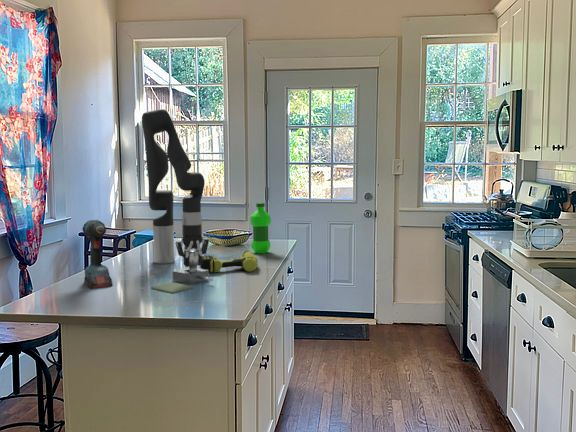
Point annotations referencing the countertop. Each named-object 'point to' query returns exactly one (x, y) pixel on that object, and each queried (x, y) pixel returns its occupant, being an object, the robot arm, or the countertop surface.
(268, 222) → the plastic bottle
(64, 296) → the countertop surface
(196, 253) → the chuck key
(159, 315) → the countertop surface
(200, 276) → the block
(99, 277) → the power drill
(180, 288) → the mat
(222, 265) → the cordless drill
